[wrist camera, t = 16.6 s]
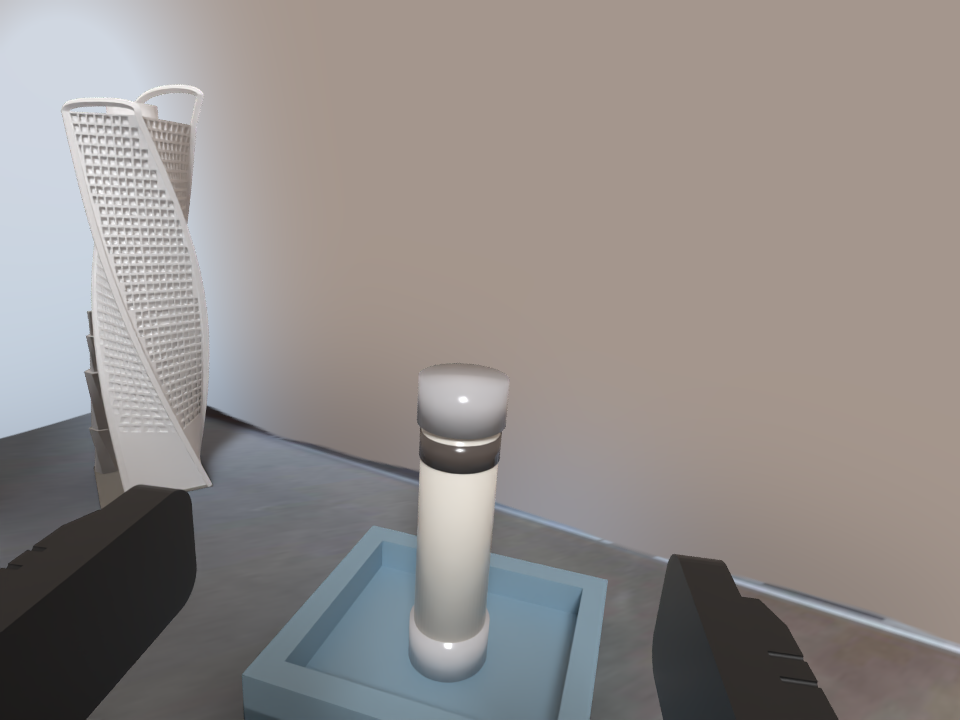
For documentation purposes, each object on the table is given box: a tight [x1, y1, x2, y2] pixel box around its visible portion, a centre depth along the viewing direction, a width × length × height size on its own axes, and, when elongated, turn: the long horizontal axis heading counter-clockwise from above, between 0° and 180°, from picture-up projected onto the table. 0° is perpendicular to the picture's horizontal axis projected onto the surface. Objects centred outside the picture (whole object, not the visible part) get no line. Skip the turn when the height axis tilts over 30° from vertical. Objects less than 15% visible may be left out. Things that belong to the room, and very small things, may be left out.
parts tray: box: [242, 526, 608, 720], centre depth 28 cm, size 14×12×2 cm
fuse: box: [408, 363, 510, 683], centre depth 26 cm, size 4×4×14 cm
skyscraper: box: [61, 85, 212, 509], centre depth 40 cm, size 8×8×28 cm
